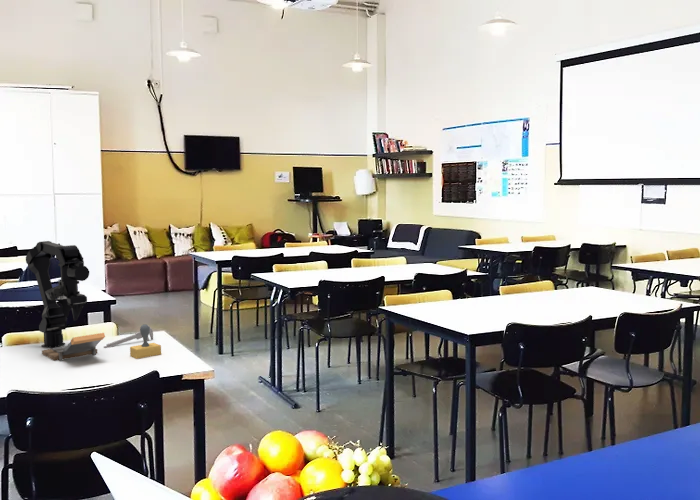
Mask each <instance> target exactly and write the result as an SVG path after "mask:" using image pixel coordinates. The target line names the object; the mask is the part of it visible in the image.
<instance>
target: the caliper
mask: <svg viewBox="0 0 700 500" xmlns="http://www.w3.org/2000/svg"><path fill="white" fill-rule="evenodd" d="M148 326H149V328H150V332H149V336H148V338H147V342H149V341H150V340H151V341H153V340H154V332H153V328H152V327H150V325H148ZM141 339H143V337H142V335H141V332H140V331H138V332H136V333H134V334H132V335H129V336H125V337H124V338H120V339H117V340H115V341H112V342H110V343H109V342H108V343H106V345H104V346H103V348H104V349H106V348H113V347H116V346H118V345H121V344H124V343H127V342H129V341H132V340H141Z"/></svg>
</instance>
